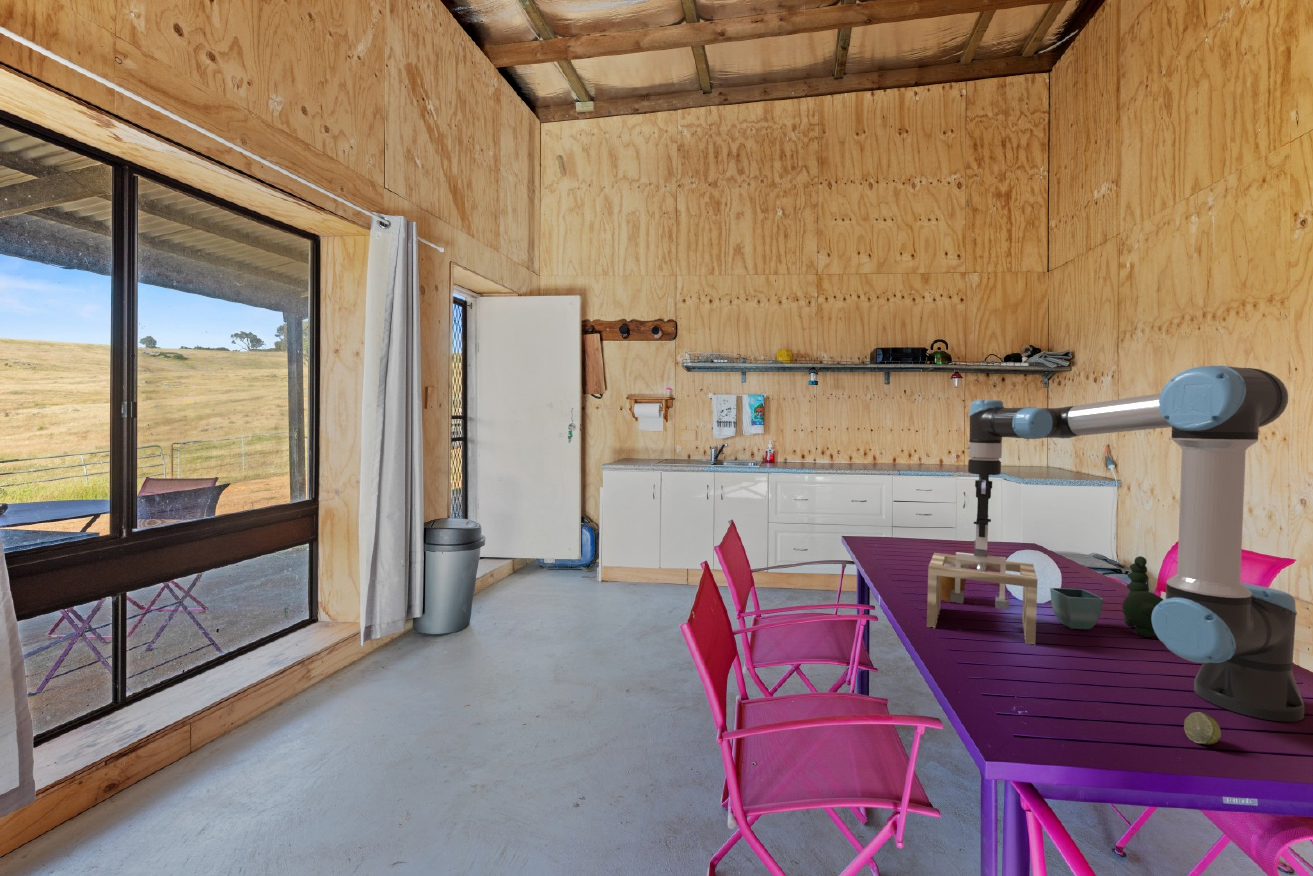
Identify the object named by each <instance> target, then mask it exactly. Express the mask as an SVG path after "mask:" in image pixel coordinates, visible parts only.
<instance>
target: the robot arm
mask: <svg viewBox="0 0 1313 876" xmlns="http://www.w3.org/2000/svg"><path fill="white" fill-rule="evenodd" d="M1288 403H1289V392H1288V389H1287V387H1286V385H1285V383H1284V382H1283V381H1282V380H1281V379H1280V378H1278V376H1276V375H1274V374H1273V373H1270V372H1268V371H1266V370H1262V369H1260V368H1252V367H1236V366H1226V365H1206V366H1196V367H1191V368H1188V369H1185V370H1182V371H1180V372H1179V373H1178V374H1176V375H1174V376H1173V377H1172V378H1171V379H1170V380H1168V382H1167V383H1166V384H1165V385H1164V386H1163V388H1162V389H1161V391H1160V393H1155V394H1147V395H1140V396H1133V397H1127V398H1119V399H1118V398H1117V399H1113V400H1106V401H1099V402H1092V403H1085V404H1078V405H1071V406H1070V405H1069V406H1064V407H1055V408H1054V407H1053V408H1052V407H1051V408H1047V407H1036V406H1035V407H1032V406H1031V407H1030V406H1029V407H1028V406H1027V407H1004V402H1003V400H998V399H997V400H996V399H992V400H991V399H987V400H986V399H984V400H983V399H977V400H973V401H971V404H970V410H969V440H968V443H969V445H966V446H965V448H966V450H968V457H969V458H970V459H968V461H967V462H968V463H967V464H968V465H967V471H968V473H969V474H972V475H978V479H977V480H976V479H975V480H974V487H975V497H976V498H977V513H976V520H975V521H973V525H975V540H976V546H975V549H983V550H987V551H988V543H989V542H988V539H989V537H988V536H989V523H991V521H992V519H991V518H989V499H991V496H992V489H993V480H990V476H998V475H1000V474H1001V473H1002V472H1001V471H1002V461H1001V460H999V459H1001V458H1002V453H1003V452H1002V451H1003V449H1002V448H1003V438H1011V439H1013V438H1014V439H1024V440H1036V439H1037V440H1039V439H1040V440H1041V439H1046V438H1047V439H1051V438H1053V439H1071V438H1076V437H1080V436H1090V435H1091V436H1092V435H1101V434H1112V433H1113V434H1115V433H1122V432H1123V433H1124V432H1132V431H1133V432H1134V431H1135V432H1136V431H1145V430H1146V431H1147V430H1155V429H1167V428H1171V440H1172V441H1173V442H1174V443H1175V444H1177V445H1178V447H1180V449H1181V463H1180V464H1181V465H1180V467H1181V468H1180V486H1179V487H1180V488H1179V491H1180V492H1179V513H1178V514H1179V517H1178V543H1177V544H1178V545H1177V547H1178V548H1177V569H1176V571H1177V572H1176V574H1175V575H1173V576H1171V577H1170V578H1168V579H1167V580H1166V583H1165V584H1166V585H1165V598H1164V599H1163V601H1161V602H1160V603H1159V604H1158V605H1156V607H1155V608H1154V610H1153V612H1152V617H1151V621H1152V626H1153V629H1154V631H1155V633H1156V637H1157V638H1158V640H1159V641H1160V642H1161V643H1162V644H1163V645H1164V646H1165V647H1166V649H1168V651H1170V652H1172V653H1173V654H1175V655H1176V656H1178V657H1180V658H1182V659H1184V660H1187V661H1189V662H1193V663H1199V664H1202V665H1201V666H1200V667H1199V671H1198V672H1197V674H1195V675H1196V676H1195V677H1194V684H1193V685H1194V688H1193V691H1194V693H1195V694H1196V695H1198V696H1199V697H1200V698H1201V699H1202V700H1204V701H1207V702H1209V703H1210V704H1213V705H1215V706H1217V707H1220V708H1222V709H1225V710H1228V711H1231V712H1234V713H1238V714H1240V715H1244V716H1248V717H1252V718H1257V719H1262V720H1268V721H1274V722H1284V723H1286V722H1292V723H1293V722H1299V721H1302V720H1303V719H1304V718H1305V704H1304V700H1303V698H1302V697H1303V696H1301V695H1302V694H1301V692H1300V690H1299V686H1298V685H1297V682H1296V680H1295V676H1294V674H1293V665H1294V664H1293V663H1294V651H1295V650H1294V647H1295V634H1296V633H1295V632H1296V631H1295V630H1296V617H1297V615H1298V611H1297V610H1296V600H1295V598H1294V596H1293V595H1291V594H1290V593H1288V592H1286V591H1282V590H1279V589H1276V588H1275V589H1274V588H1269V587H1266V586H1261V585H1257V584H1256V585H1255V584H1250V583H1245V582H1241V576H1242V575H1241V573H1242V572H1241V571H1242V569H1241V568H1242V547H1243V522H1244V521H1243V520H1244V500H1245V498H1244V497H1245V494H1244V493H1245V474H1246V472H1245V471H1246V455H1247V454H1246V451H1247V450H1248V448H1250V447H1252V446H1253V445H1254V444H1256V443H1258V442H1259V433H1260V432H1259V429H1260V428H1261V427H1265V426H1267V425H1269V424H1271V423H1273V422H1274V421H1276V420H1277V419H1278V418H1280V417H1281V415H1282V414H1283V413H1284V412H1285V411H1286V408H1287V407H1288V406H1287V405H1288Z"/></svg>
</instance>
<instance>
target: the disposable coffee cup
mask: <svg viewBox="0 0 1313 876" xmlns="http://www.w3.org/2000/svg"><path fill="white" fill-rule="evenodd" d="M944 566H949V567H955V564H946V563H945V564H944ZM961 568H966V569H970V566H963V565H961ZM966 580H967V579H962V578H960V591H964V592H965V587H966ZM952 590H955V578H954V577H946V576H941V601H942V600H945V601H950V600H951V591H952ZM945 601H944V602H945Z"/></svg>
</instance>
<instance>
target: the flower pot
mask: <svg viewBox="0 0 1313 876" xmlns="http://www.w3.org/2000/svg"><path fill="white" fill-rule="evenodd" d="M1049 591H1050V601H1051V608H1052V611H1053V613H1054V616H1055V617H1056V619H1057V620H1058V621H1059V623H1061V624H1062V625H1064V626H1066V627H1067V628H1069V629H1073V630H1075V629H1076V630H1091V629H1092V628H1093V627H1094V626H1095V625H1097V622H1098V621H1099V619H1100V617H1101V614H1102V608H1103V604H1104V600H1105V599H1104V598H1103V597H1101V596H1099V595H1097V594H1095V593H1092V592H1090V591H1088V590H1085V589H1082V588H1067V587H1066V588H1065V587H1049Z"/></svg>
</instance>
